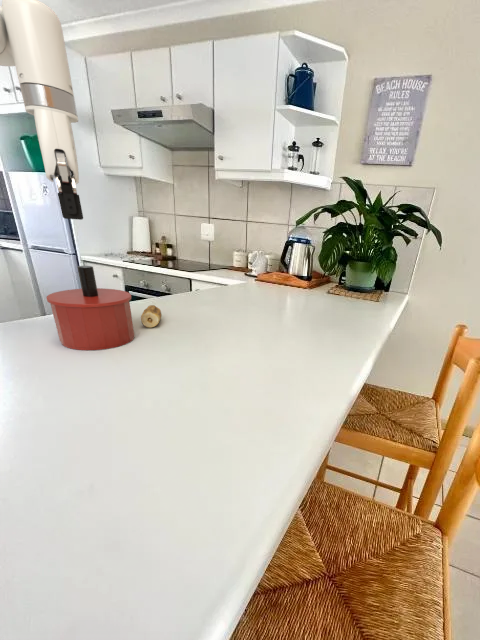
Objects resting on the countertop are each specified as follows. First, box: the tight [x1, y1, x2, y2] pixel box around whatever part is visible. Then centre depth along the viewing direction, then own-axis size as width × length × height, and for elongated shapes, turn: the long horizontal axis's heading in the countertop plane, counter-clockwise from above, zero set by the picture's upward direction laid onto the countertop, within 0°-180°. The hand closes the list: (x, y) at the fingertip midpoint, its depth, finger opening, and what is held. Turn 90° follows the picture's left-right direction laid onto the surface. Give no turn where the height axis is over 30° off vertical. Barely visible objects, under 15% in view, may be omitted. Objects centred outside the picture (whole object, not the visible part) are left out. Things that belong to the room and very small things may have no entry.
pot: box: [49, 300, 135, 351], centre depth 67 cm, size 14×14×8 cm
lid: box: [45, 265, 132, 307], centre depth 63 cm, size 15×15×7 cm
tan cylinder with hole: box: [140, 304, 162, 328], centre depth 80 cm, size 8×4×4 cm, turn 15°
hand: (73, 218), depth 63 cm, fingers open, 9 cm apart
